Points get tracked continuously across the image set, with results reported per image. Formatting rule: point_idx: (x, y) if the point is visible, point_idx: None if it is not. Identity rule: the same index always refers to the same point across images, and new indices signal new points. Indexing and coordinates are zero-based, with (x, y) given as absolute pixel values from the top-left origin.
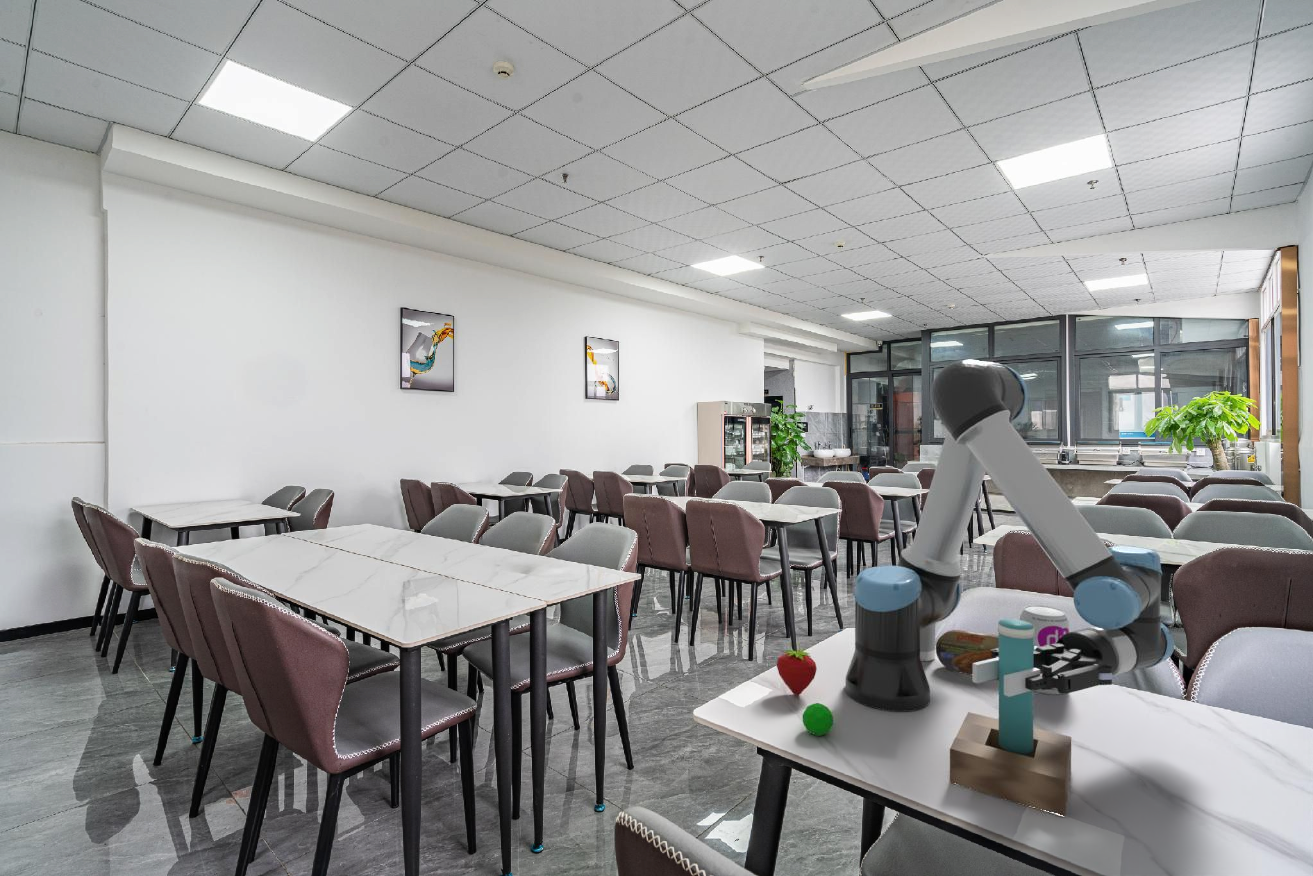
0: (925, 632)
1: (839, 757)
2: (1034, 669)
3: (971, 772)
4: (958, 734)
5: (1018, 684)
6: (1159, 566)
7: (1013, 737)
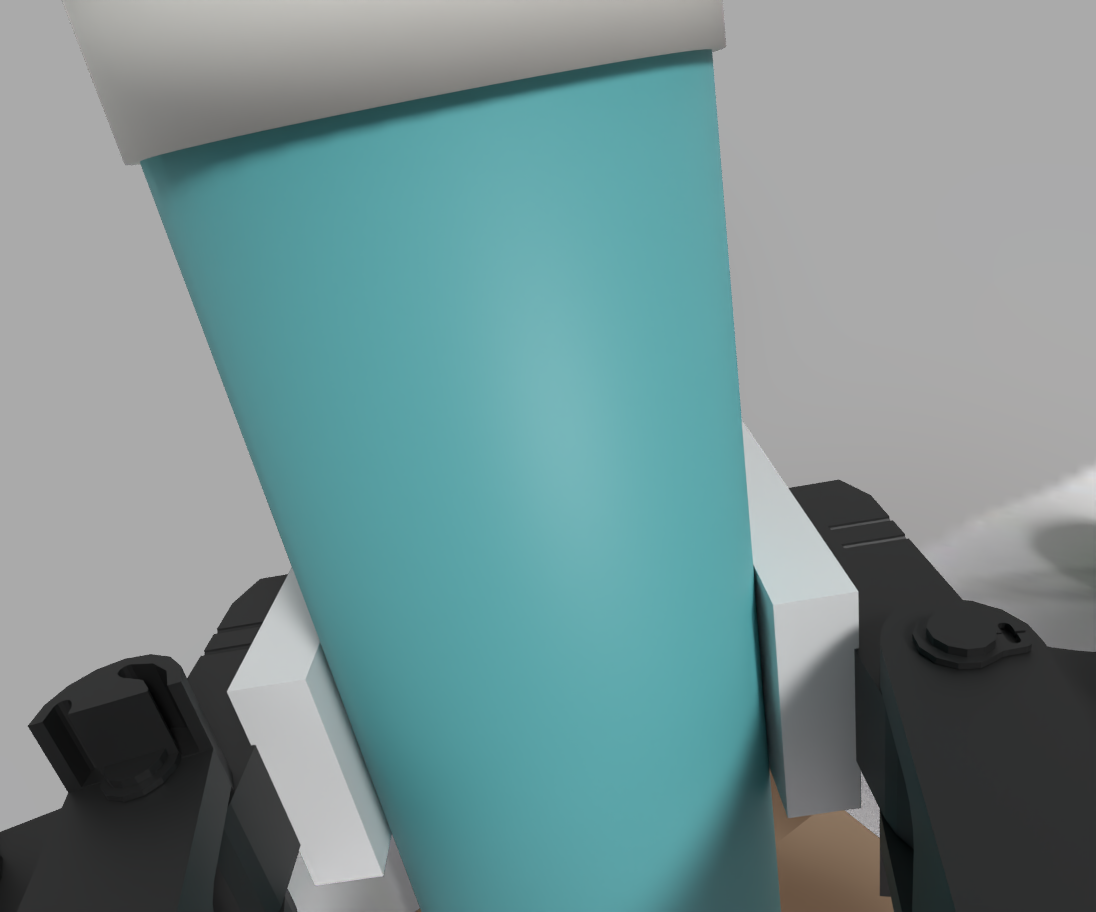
0: None
1: (968, 587)
2: (287, 638)
3: None
4: (871, 841)
5: None
6: None
7: None
